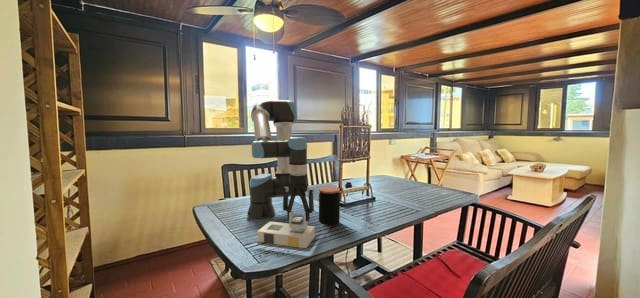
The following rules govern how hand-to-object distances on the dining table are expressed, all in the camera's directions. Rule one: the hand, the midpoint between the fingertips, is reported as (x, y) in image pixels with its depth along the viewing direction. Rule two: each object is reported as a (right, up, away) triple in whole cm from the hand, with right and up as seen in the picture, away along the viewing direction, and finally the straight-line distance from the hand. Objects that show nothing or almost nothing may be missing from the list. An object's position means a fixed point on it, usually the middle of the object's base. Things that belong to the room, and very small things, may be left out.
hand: (298, 227), depth 118 cm
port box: (-5, -7, +2) cm, 9 cm away
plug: (0, -6, +1) cm, 6 cm away
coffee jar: (+14, -5, +25) cm, 29 cm away
